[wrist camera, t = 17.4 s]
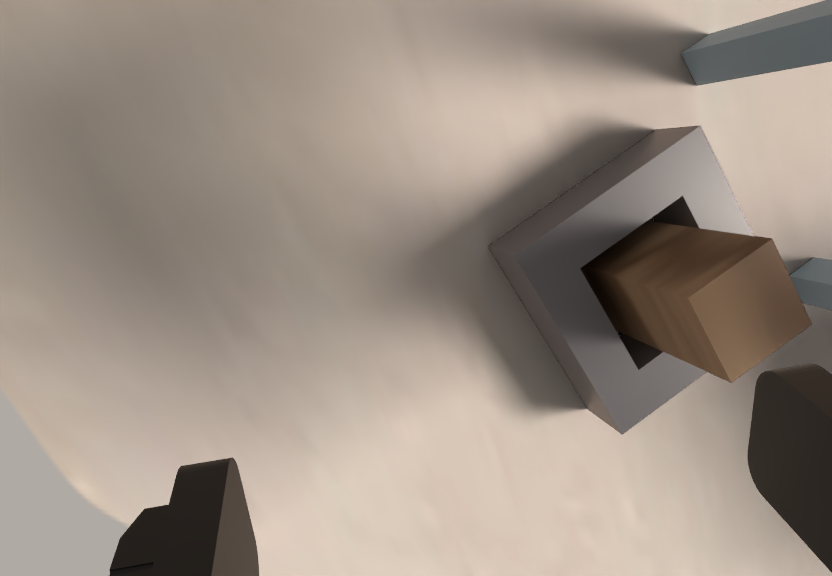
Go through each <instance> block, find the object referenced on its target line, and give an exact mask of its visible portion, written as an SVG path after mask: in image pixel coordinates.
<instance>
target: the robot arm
mask: <svg viewBox="0 0 832 576" xmlns="http://www.w3.org/2000/svg"><path fill="white" fill-rule="evenodd" d="M748 465H749V469H750V473H751V476H752V479H753V481H754V483H755V485H756V487H757V489H758V490H759V492H760V493H761V494H762V496H763V497H764V498H765V499H766V500H767V501H768V502H769V504H770V505H771V506H772V507H773V508H774V509H775V510H776V511H777V512H778V514H779V515H780V516H781V517H782V518H783V519H784V520H785V521H786V522H787V523H788V525H789V526H790V527H791V528H792V529H793V530H794V531H795V532H796V533H797V535H798V536H799V537H800V538H801V539H802V540H803V541H804V542H805V543H806V544H807V546H808V547H809V548H810V549H811V550H812V551H813V552H814V553H815V554H816V556H817V557H818V558H819V559H820V560H821V561H822V562H823V563H824V564H825V566H826V567H827V568H828V569H829V570H830V571H831V572H832V374H830V373H829V372H827V371H826V370H825V369H823V368H822V367H820V366H818V365H815V364H808V365H802V366H796V367H790V368H784V369H777V370H771V371H765V372H763V373H762V374H761V375H760V376H759V377H758V379H757V382H756V387H755V395H754V404H753V412H752V421H751V429H750V438H749V446H748ZM110 576H259V564H258V554H257V546H256V541H255V536H254V532H253V528H252V524H251V519H250V515H249V511H248V507H247V503H246V499H245V495H244V490H243V486H242V482H241V478H240V474H239V470H238V466H237V463H236V461H235V460H234V458H228V459H222V460H216V461H209V462H203V463H197V464H191V465H185V466H181V467H180V468H179V469H178V472H177V475H176V479H175V483H174V487H173V491H172V495H171V498H170V502H169V505H164V506H159V507H153V508H147V509H144V510H143V511H142V512H141V514H140V515H139V516H138V517H137V518H136V520H135V521H134V522H133V523H132V524H131V526H130V527H129V528H128V529H127V531H126V532H125V533H124V534H123V535H122V537H121V538H120V540H119V543H118V546H117V550H116V552H115V555H114V558H113V561H112V564H111V567H110Z"/></svg>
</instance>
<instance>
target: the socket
mask: <svg viewBox="0 0 832 576" xmlns="http://www.w3.org/2000/svg"><path fill="white" fill-rule="evenodd" d="M652 217H654V218H655V220H656V222H658V223H665V224H672V225H679V226H687V227H694V228H701V229H708V230H715V231H722V232H729V233H736V234H743V235H750V236H754V234H753V232H752V230H751V228H750V226H749V224H748V222H747V220H746V217H745V215H744V213H743V211H742V209H741V207H740V205H739V203H738V201H737V199H736V197H735V195H734V193H733V191H732V189H731V187H730V185H729V183H728V181H727V179H726V177H725V175H724V172H723V170H722V168H721V166H720V164H719V162H718V160H717V158H716V156H715V154H714V152H713V150H712V148H711V146H710V144H709V142H708V140H707V138H706V136H705V134H704V132H703V130H702V127H701V126H690V127H679V128H668V129H656V130H655V131H654V132H652V133H651V134H649V135H648V136H646V137H645V138H643V139H642V140H641V141H639V142H638V143H636V144H635V145H633V146H632V147H630V148H629V149H628V150H626V151H625V152H623V153H622V154H620V155H619V156H618V157H616V158H615V159H613V160H612V161H610V162H609V163H607V164H606V165H605V166H603V167H602V168H600V169H599V170H597V171H596V172H594V173H593V174H592V175H590V176H589V177H587V178H586V179H584V180H583V181H582V182H580V183H579V184H577V185H576V186H574V187H573V188H571V189H570V190H569V191H567V192H566V193H564V194H563V195H561V196H560V197H558V198H557V199H556V200H554V201H553V202H551V203H550V204H548V205H547V206H545V207H544V208H543V209H541V210H540V211H538V212H537V213H535V214H534V215H533V216H531V217H530V218H528V219H527V220H525V221H524V222H522V223H521V224H520V225H518V226H517V227H515V228H514V229H512V230H511V231H509V232H508V233H507V234H505V235H504V236H502V237H501V238H499V239H498V240H497V241H495V242H494V243H492V244H491V245H489V246H488V247H489V249H490V251H491V252H492V254H493V255H494V257H495V259H496V260H497V262H498V264H499V265H500V267H501V269H502V270H503V272H504V273H505V275H506V277H507V278H508V280H509V282H510V283H511V285H512V287H513V288H514V290H515V291H516V293H517V295H518V296H519V298H520V300H521V301H522V303H523V304H524V306H525V308H526V309H527V311H528V313H529V314H530V316H531V318H532V319H533V321H534V322H535V324H536V326H537V327H538V329H539V331H540V332H541V334H542V336H543V337H544V339H545V340H546V342H547V344H548V345H549V347H550V349H551V350H552V352H553V354H554V355H555V357H556V358H557V360H558V362H559V363H560V365H561V367H562V368H563V370H564V372H565V373H566V375H567V376H568V378H569V380H570V381H571V383H572V385H573V386H574V388H575V390H576V391H577V393H578V394H579V396H580V398H581V399H582V401H583V403H584V404H585V406H586V407H587V409H588V410H589V411H591V412H592V413H593V414H595V415H596V416H598V417H599V418H600V419H602V420H603V421H604V422H606V423H607V424H609V425H610V426H611V427H613V428H614V429H615V430H617V431H618V432H620V433H621V434H624V433H625V432H626V431H628V430H629V429H630V428H632V427H633V426H634V425H636V424H637V423H639V422H640V421H641V420H643V419H644V418H645V417H647V416H648V415H649V414H651V413H652V412H653V411H655V410H656V409H657V408H659V407H660V406H662V405H663V404H664V403H666V402H667V401H668V400H670V399H671V398H672V397H674V396H675V395H676V394H678V393H679V392H680V391H682V390H683V389H684V388H686V387H687V386H689V385H690V384H691V383H693V382H694V381H695V380H697V379H698V378H699V377H701V376H702V375H703V374H705V373H706V372H707V371H705V370H702V369H700V368H698V367H696V366H694V365H691V364H689V363H687V362H685V361H683V360H680V359H678V358H676V357H674V356H672V355H669V354H667V353H665V352H663V351H661V350H658V349H656V348H654V347H652V346H650V345H647V344H645V343H643V342H641V341H639V340H636V339H634V338H632V337H630V336H628V335H625V334H624V335H623V336H622V337H619V335H618V334H617V332H616V330H615V328H614V327H613V325H612V323H611V321H610V320H609V318H608V316H607V314H606V313H605V311H604V309H603V307H602V306H601V304H600V302H599V301H598V299H597V297H596V295H595V294H594V292H593V290H592V288H591V287H590V285H589V283H588V281H587V280H586V278H585V276H584V274H583V273H582V271H581V269H580V268H581V267H583V266H584V265H586V264H587V263H588V262H590V261H591V260H593V259H594V258H595V257H597V256H598V255H600V254H601V253H602V252H604V251H605V250H607V249H608V248H610V247H611V246H612V245H614V244H615V243H617V242H618V241H619V240H621V239H622V238H624V237H625V236H626V235H628V234H629V233H631V232H632V231H634V230H635V229H636V228H638V227H639V226H641V225H642V224H643V223H645V222H646V221H648V220H649V219H650V218H652Z"/></svg>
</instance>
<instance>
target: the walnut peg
mask: <svg viewBox="0 0 832 576" xmlns="http://www.w3.org/2000/svg"><path fill="white" fill-rule="evenodd" d="M580 269H581V271H582V273H583V274H584V276H585V278H586V280H587V281H588V283H589V285H590V287H591V288H592V290H593V292H594V294H595V295H596V297H597V299H598V301H599V302H600V304H601V306H602V307H603V309H604V311H605V313H606V314H607V316H608V318H609V320H610V321H611V323H612V325H613V327H614V328H615V330H617V331H619V332H621V333H623V334H625V335H628V336H630V337H632V338H634V339H636V340H639V341H641V342H643V343H645V344H647V345H650V346H652V347H654V348H656V349H658V350H661V351H663V352H665V353H667V354H669V355H672V356H674V357H676V358H678V359H680V360H683V361H685V362H687V363H689V364H691V365H694V366H696V367H698V368H700V369H702V370H705V371H707V372H709V373H711V374H713V375H716V376H718V377H720V378H722V379H724V380H727V381H729V382H731V383H732V382H733V381H734V380H736V379H737V378H738V377H740V376H741V375H743V374H744V373H745V372H747V371H748V370H749V369H751V368H752V367H754V366H755V365H756V364H758V363H759V362H760V361H762V360H763V359H765V358H766V357H767V356H769V355H770V354H772V353H773V352H774V351H776V350H777V349H778V348H780V347H781V346H783V345H784V344H785V343H787V342H788V341H789V340H791V339H792V338H794V337H795V336H796V335H798V334H799V333H800V332H802V331H803V330H805V329H806V328H807V327H809V326H810V325H812V323H811V321H810V319H809V317H808V315H807V313H806V310H805V308H804V306H803V304H802V302H801V300H800V298H799V295H798V293H797V291H796V289H795V287H794V285H793V282H792V280H791V278H790V276H789V274H788V272H787V269H786V267H785V265H784V263H783V261H782V259H781V256H780V254H779V252H778V250H777V248H776V246H775V244H774V241H773V239H771V238H764V237H757V236H750V235H743V234H736V233H729V232H722V231H715V230H708V229H701V228H694V227H687V226H679V225H672V224H665V223H658V222H651V221H646V222H645V223H643V224H642V225H641V226H639V227H638V228H636V229H635V230H634V231H632V232H631V233H629V234H628V235H626V236H625V237H624V238H622V239H621V240H619V241H618V242H617V243H615V244H614V245H612V246H611V247H610V248H608V249H607V250H605V251H604V252H602V253H601V254H600V255H598V256H597V257H595V258H594V259H593V260H591V261H590V262H588V263H587V264H586V265H584V266H583V267H581V268H580Z"/></svg>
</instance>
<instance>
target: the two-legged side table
mask: <svg viewBox="0 0 832 576" xmlns="http://www.w3.org/2000/svg"><path fill="white" fill-rule="evenodd" d="M681 54H682V56H683V58H684V61H685V63H686V65H687V67H688V69H689V71H690V73H691V75H692V77H693V79H694V81H695V83H696V85H697V86H698V85H703V84H709V83H714V82H720V81H726V80H731V79H737V78H742V77H748V76H753V75H759V74H764V73H770V72H775V71H781V70H786V69H792V68H798V67H803V66H809V65H814V64H820V63H825V62H831V61H832V0H825V1H822V2H818V3H815V4H811V5H808V6H805V7H801V8H798V9H794V10H791V11H787V12H784V13H780V14H777V15H773V16H770V17H766V18H763V19H759V20H756V21H753V22H749V23H746V24H742V25H739V26H735V27H732V28H728V29H725V30H721V31H718V32H714V33H711V34H709V35H707V36H706V37H704V38H703V39H701V40H700V41H699V42H697V43H696V44H694V45H693V46H691V47H690V48H688V49H687V50H685V51H684V52H682V53H681ZM789 276H790V278H791V280H792V282H793V285H794V287H795V289H796V291H797V293H798V295H799V298H800V300H801V302H802V303H805V304H809V305H813V306H817V307H821V308H825V309H829V310H832V260H827V259H821V258H815V257H814V258H812V259H811V260H810V261H808V262H807V263H806V264H804V265H803V266H801V267H800V268H799V269H797V270H796V271H795V272H793V273H792V274H791V275H789Z"/></svg>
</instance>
